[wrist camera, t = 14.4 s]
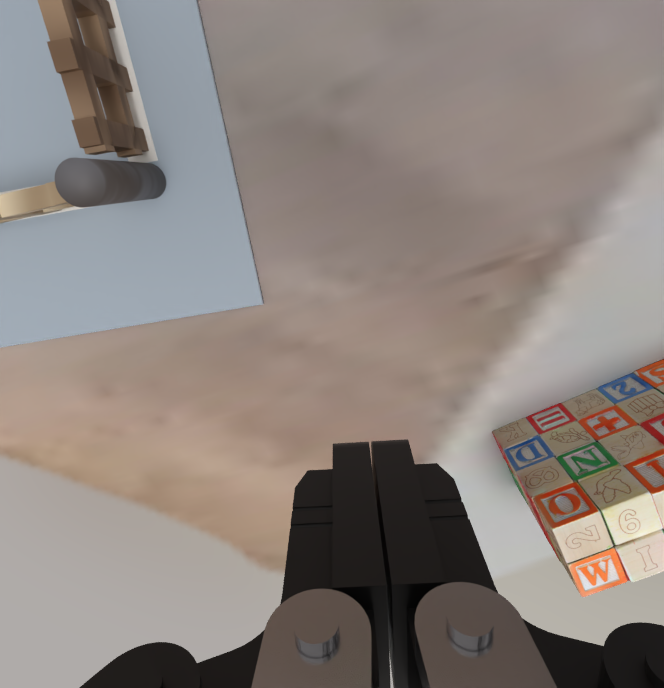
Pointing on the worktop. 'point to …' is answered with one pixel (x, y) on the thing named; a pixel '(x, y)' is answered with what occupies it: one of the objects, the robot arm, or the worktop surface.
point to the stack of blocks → (597, 478)
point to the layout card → (129, 217)
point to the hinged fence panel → (31, 202)
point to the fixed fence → (97, 108)
